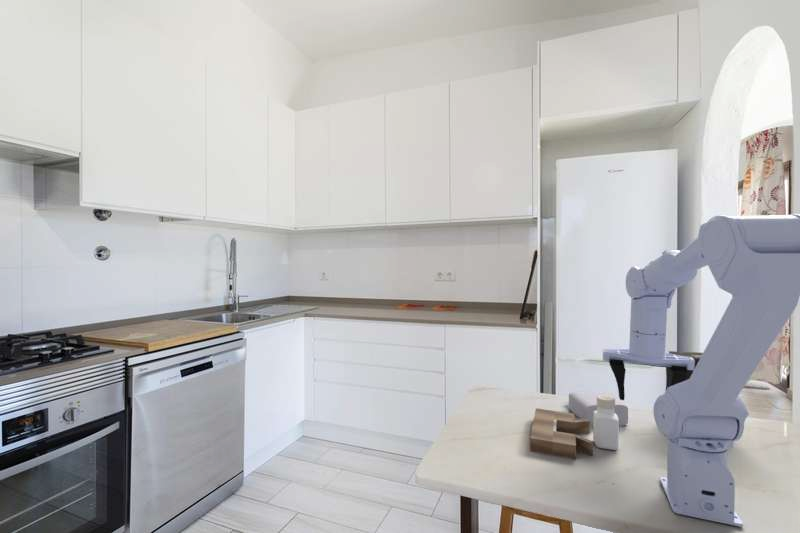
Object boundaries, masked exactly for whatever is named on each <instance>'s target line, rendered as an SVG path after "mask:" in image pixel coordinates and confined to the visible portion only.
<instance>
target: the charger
mask: <svg viewBox="0 0 800 533" xmlns="http://www.w3.org/2000/svg"><path fill="white" fill-rule="evenodd" d="M598 395H607V396H610V395H609V394H607V393H606V392H605V391H584V390H583V391H582V390H581V391H571V392H570V393H569V395H568V409H569V410H570V411H571V412H572V413H573V414H574V415H576V417H578V419H579V418H580V419H579V420H583V419H587V420H589V421H590V425H593V412H594V411H597V396H598ZM615 414H616V415H617V417H618V419H619V426H626V425H628V424H629V408H628V406H627V405H625V404H623V403H622V402H621V401H618V400H617V399H616V398H615Z"/></svg>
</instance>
